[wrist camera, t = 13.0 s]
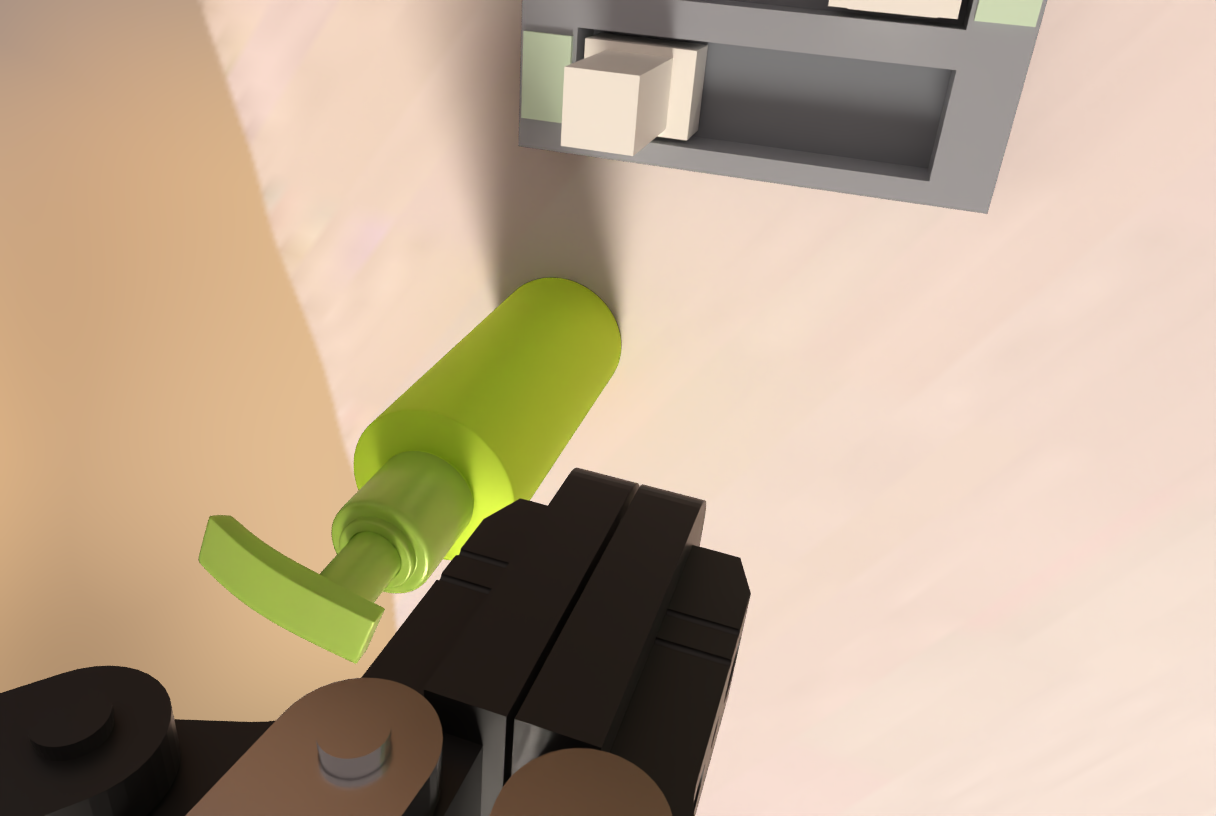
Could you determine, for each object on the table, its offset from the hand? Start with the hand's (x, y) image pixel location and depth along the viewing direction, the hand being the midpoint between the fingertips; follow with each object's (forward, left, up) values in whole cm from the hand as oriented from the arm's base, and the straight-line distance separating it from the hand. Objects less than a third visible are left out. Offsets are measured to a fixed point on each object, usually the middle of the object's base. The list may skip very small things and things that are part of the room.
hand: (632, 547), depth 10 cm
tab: (+6, -1, -26) cm, 27 cm away
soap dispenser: (+10, +11, -28) cm, 32 cm away
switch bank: (+2, -3, -28) cm, 28 cm away
